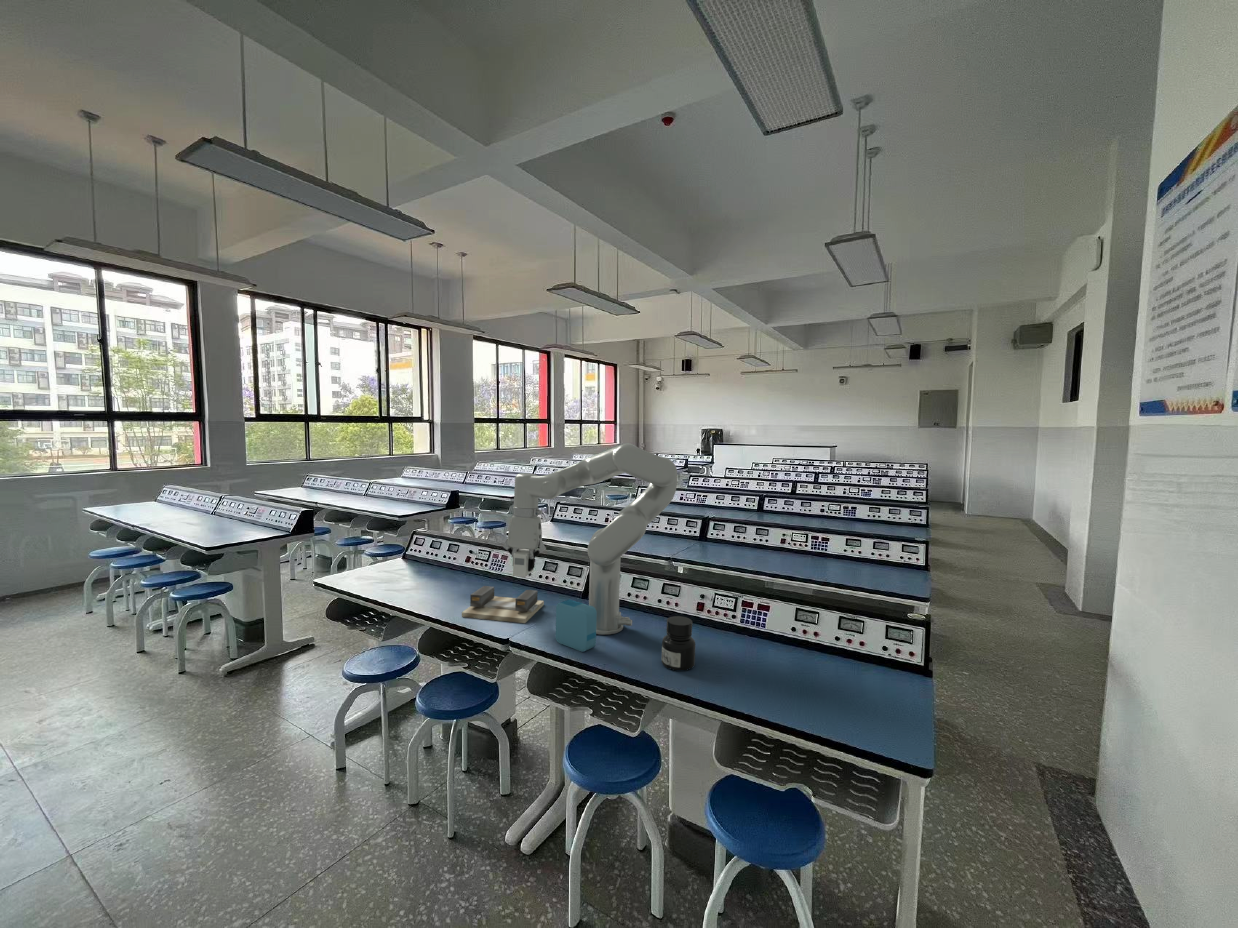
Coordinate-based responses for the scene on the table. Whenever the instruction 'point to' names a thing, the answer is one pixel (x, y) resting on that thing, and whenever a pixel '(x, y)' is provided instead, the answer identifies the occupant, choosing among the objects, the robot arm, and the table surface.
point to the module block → (521, 563)
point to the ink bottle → (678, 644)
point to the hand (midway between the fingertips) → (523, 569)
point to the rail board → (502, 606)
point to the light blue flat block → (576, 625)
